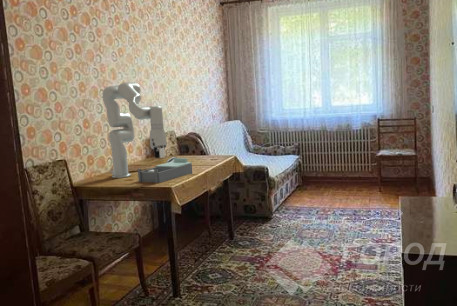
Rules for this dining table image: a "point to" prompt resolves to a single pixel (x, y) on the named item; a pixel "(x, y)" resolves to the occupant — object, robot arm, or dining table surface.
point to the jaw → (161, 152)
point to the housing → (163, 173)
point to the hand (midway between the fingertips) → (159, 156)
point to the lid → (175, 163)
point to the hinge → (171, 159)
